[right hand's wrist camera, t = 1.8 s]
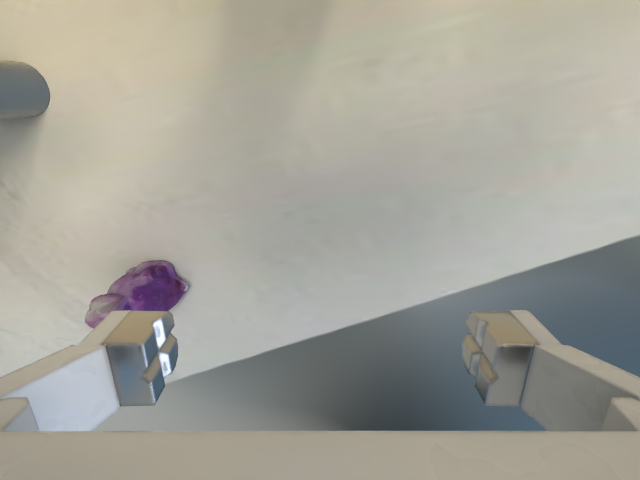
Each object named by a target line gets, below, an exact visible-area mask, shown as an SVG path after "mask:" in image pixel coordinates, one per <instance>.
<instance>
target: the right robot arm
mask: <svg viewBox="0 0 640 480" xmlns="http://www.w3.org/2000/svg"><path fill="white" fill-rule="evenodd" d="M173 327H174V320H173V315H172V314H171V313H170V312H169V311H132V310H122V311H111V312H110V313H109V314H108V315H107V316H106V317H105V318H104V319H103V320H102V321H101V322H100V323H99V324H98V325H97V326H96V327H95V328H94V329H93V330H92V331H91V332H90V333H89V335H88V336H87V337H86V338H85V339H84V340H83V341H82V342H81V343H80V344H79V345H71V346H69V347H67V348H65V349H63V350H60V351H58V352H56V353H54V354H51V355H49V356H47V357H45V358H43V359H40V360H38V361H36V362H34V363H32V364H29V365H27V366H25V367H23V368H20V369H18V370H16V371H14V372H12V373H9V374H7V375H5V376H3V377H0V480H640V378H639V377H637V376H635V375H633V374H630V373H628V372H626V371H624V370H622V369H619V368H617V367H615V366H613V365H611V364H608V363H606V362H604V361H602V360H600V359H597V358H595V357H593V356H591V355H588V354H586V353H584V352H582V351H580V350H577V349H575V348H573V347H571V346H569V345H561V344H560V343H559V342H558V341H557V340H556V339H555V338H554V336H553V335H552V334H551V333H550V332H549V331H548V330H547V329H546V328H545V327H544V326H543V325H542V324H541V323H540V322H539V321H538V320H537V319H536V318H535V317H534V316H533V315H532V314H531V313H530V312H528V311H525V310H517V311H484V312H469V314H468V316H467V319H466V327H467V328H468V330H469V332H470V333H469V334H468V335H467V336H466V337H465V338H464V339H463V345H462V356H463V362H464V365H465V368H466V370H467V372H468V374H469V375H471V376H473V377H474V378H476V383H475V387H476V389H477V391H478V392H479V394H480V396H481V398H482V400H483V402H484V403H485V405H491V406H520V409H522V410H523V411H524V412H526V413H527V414H528V415H529V416H531V417H532V418H533V419H534V420H536V421H537V422H538V423H539V424H541V425H542V426H543V427H544V428H546V429H547V430H548V431H92V430H93V429H94V428H96V427H97V426H98V425H99V424H101V423H102V422H103V421H105V420H106V419H107V418H108V417H110V416H111V415H112V414H113V413H115V412H116V411H117V410H118V409H120V406H148V405H155V404H156V402H157V400H158V398H159V396H160V394H161V392H162V391H163V389H164V387H165V383H164V379H165V378H166V377H168V376H169V375H171V374H172V372H173V370H174V368H175V366H176V361H177V357H178V344H177V339H176V338H175V337H174V336H173V335H172V334H171V333H170V332H171V330H172V329H173Z"/></svg>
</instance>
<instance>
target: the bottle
mask: <svg viewBox="0 0 640 480" xmlns="http://www.w3.org/2000/svg"><path fill="white" fill-rule="evenodd" d="M49 99H50V93H49V89H48V86H47V83H46V81H45V80H44V78H43V77H42V75H41V74H40V73H39V72H38V71H37V70H36V69H34V68H33V67H31V66H29V65H27V64H25V63H21V62H13V61H4V60H0V119H3V118H17V117H31V116H37V115H39V114H41V113H43V112H44V111H45V110H46V108H47V106H48V104H49Z"/></svg>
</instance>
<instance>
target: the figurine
mask: <svg viewBox="0 0 640 480" xmlns="http://www.w3.org/2000/svg"><path fill="white" fill-rule="evenodd" d="M187 289H188V285H187V283H186V282H185V281H183V280H182V279H180V278H179V277H178V276H177V275H176V273H175V271H174V268H173V266H172V265H171V264H170V263H168V262H166V261H148V262H143V263H141V264H140V265H138V266H137V267H136V268H132V269H130V270H128V271H127V273H126V275H124V276H122V277H121V278H119V279H118V280H117V281H115V282H114V283H113V284H112V285H111V287H110V288H109V290H108V292H107V294H105V295H100V296H98V297H96V298H94V299H93V300H92V301H91V303H90V309H89V310H88V312H87V314H86V317H85V322H86V324H88V326H90V327H91V328H95V327H96V326H97V325H98V324H99V323H100V322H101V321H102V320H103V319H104V318H105V317H106V316H107V315H108V314H109V313H110V312H111V311H122V310H132V311H169V310H170V309H171V308H172V307H173V306H174V305H175V304H176V303H177V302H178V300H179V299H180V298H181V296H182V295H183V294H184V293H185V292H186V291H187Z"/></svg>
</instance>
